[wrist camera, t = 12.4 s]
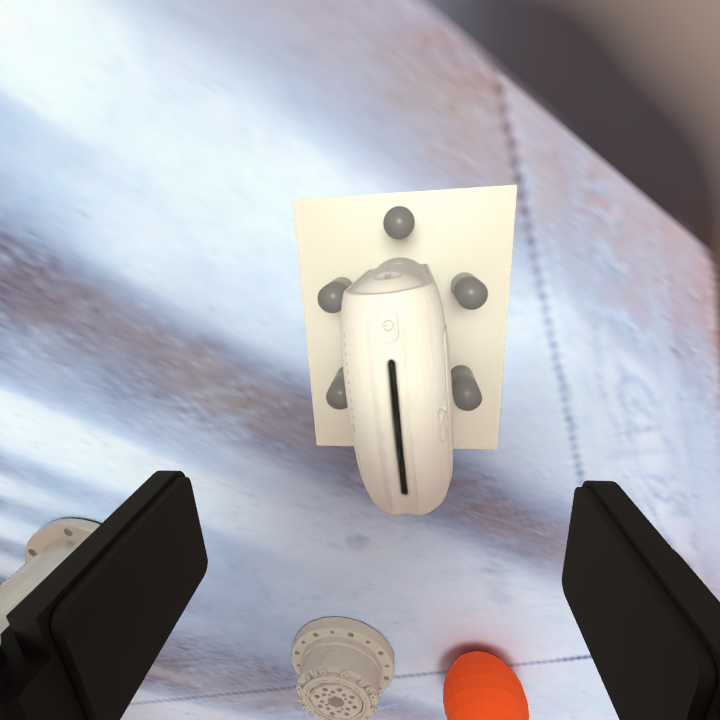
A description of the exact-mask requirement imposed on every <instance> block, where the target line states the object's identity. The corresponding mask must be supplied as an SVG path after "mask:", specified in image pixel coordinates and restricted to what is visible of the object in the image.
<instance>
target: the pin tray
mask: <svg viewBox="0 0 720 720" xmlns="http://www.w3.org/2000/svg"><path fill="white" fill-rule="evenodd" d="M516 192H517V185H506V186H491V187H476V188H461V189H446V190H431V191H415V192H400V193H385V194H370V195H355V196H340V197H325V198H309V199H294V200H292V202H293V212H294V222H295V232H296V242H297V252H298V262H299V272H300V283H301V293H302V303H303V313H304V323H305V333H306V343H307V353H308V363H309V373H310V383H311V393H312V403H313V413H314V423H315V433H316V443H317V445H322V446H354V443H353V438H352V432H351V426H350V420H349V413H348V406H347V399H346V391H345V382H344V373H343V362H342V348H341V333H340V317H341V305H342V298H343V292H344V290H346V289H347V288H348V287H349V286H350V285H351V284H352V283H353V282H355V281H356V280H357V279H358V278H359V277H360V276H362V275H363V274H364V273H365V272H366V271H368V270H370V269H376V268H377V267H378V266H379V265H380V264H382V263H383V262H385V261H387V260H389V259H392V258H398V257H403V258H409V259H412V260H414V261H416V262H418V263H419V264H428V266H429V269H430V271H431V273H432V275H433V277H434V280H435V282H436V285H437V287H438V290H439V293H440V297H441V301H442V305H443V310H444V317H445V323H446V326H447V335H448V342H449V353H450V366H451V382H452V398H453V438H454V449H495V450H498V437H499V424H500V410H501V396H502V383H503V369H504V356H505V342H506V328H507V315H508V301H509V287H510V274H511V260H512V246H513V233H514V219H515V206H516Z"/></svg>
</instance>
